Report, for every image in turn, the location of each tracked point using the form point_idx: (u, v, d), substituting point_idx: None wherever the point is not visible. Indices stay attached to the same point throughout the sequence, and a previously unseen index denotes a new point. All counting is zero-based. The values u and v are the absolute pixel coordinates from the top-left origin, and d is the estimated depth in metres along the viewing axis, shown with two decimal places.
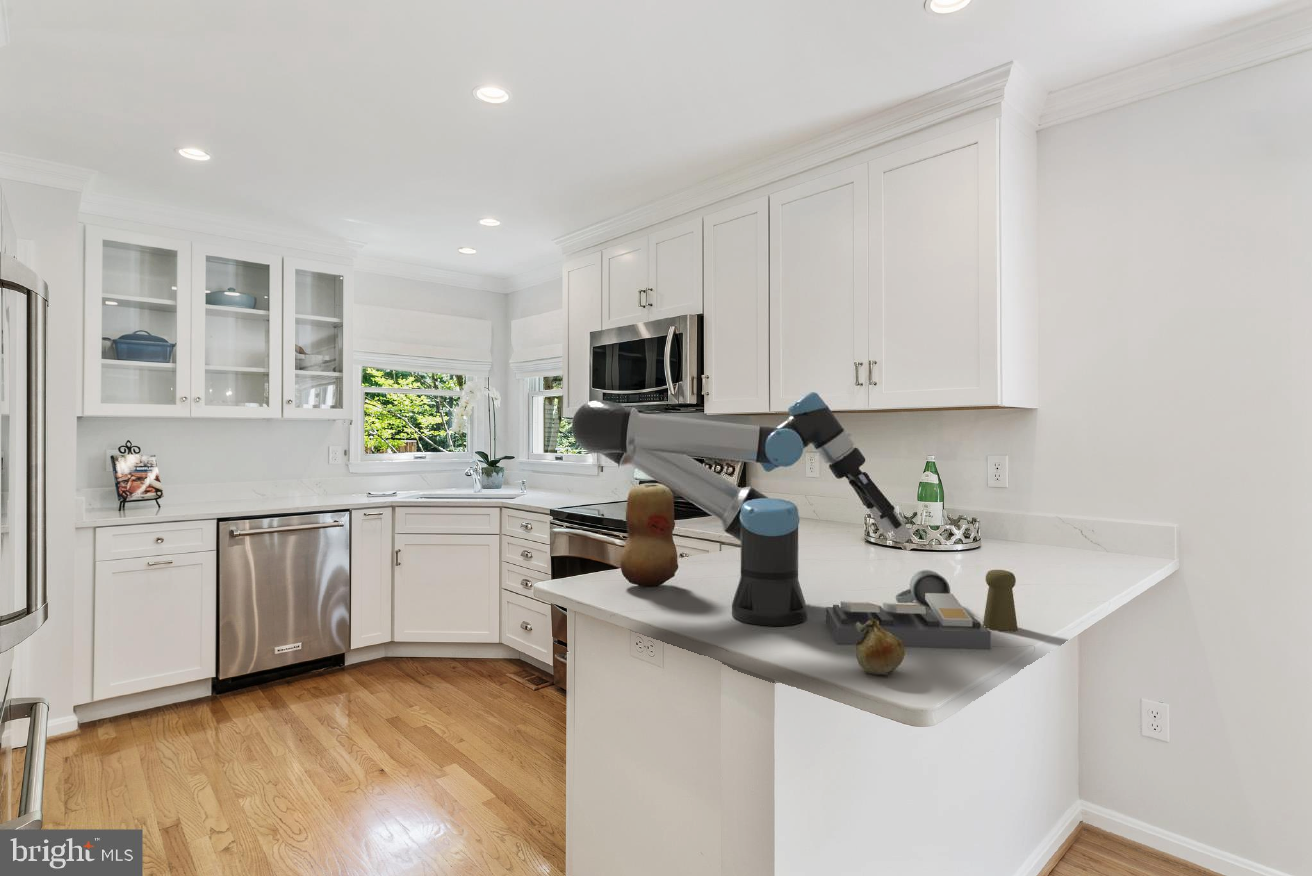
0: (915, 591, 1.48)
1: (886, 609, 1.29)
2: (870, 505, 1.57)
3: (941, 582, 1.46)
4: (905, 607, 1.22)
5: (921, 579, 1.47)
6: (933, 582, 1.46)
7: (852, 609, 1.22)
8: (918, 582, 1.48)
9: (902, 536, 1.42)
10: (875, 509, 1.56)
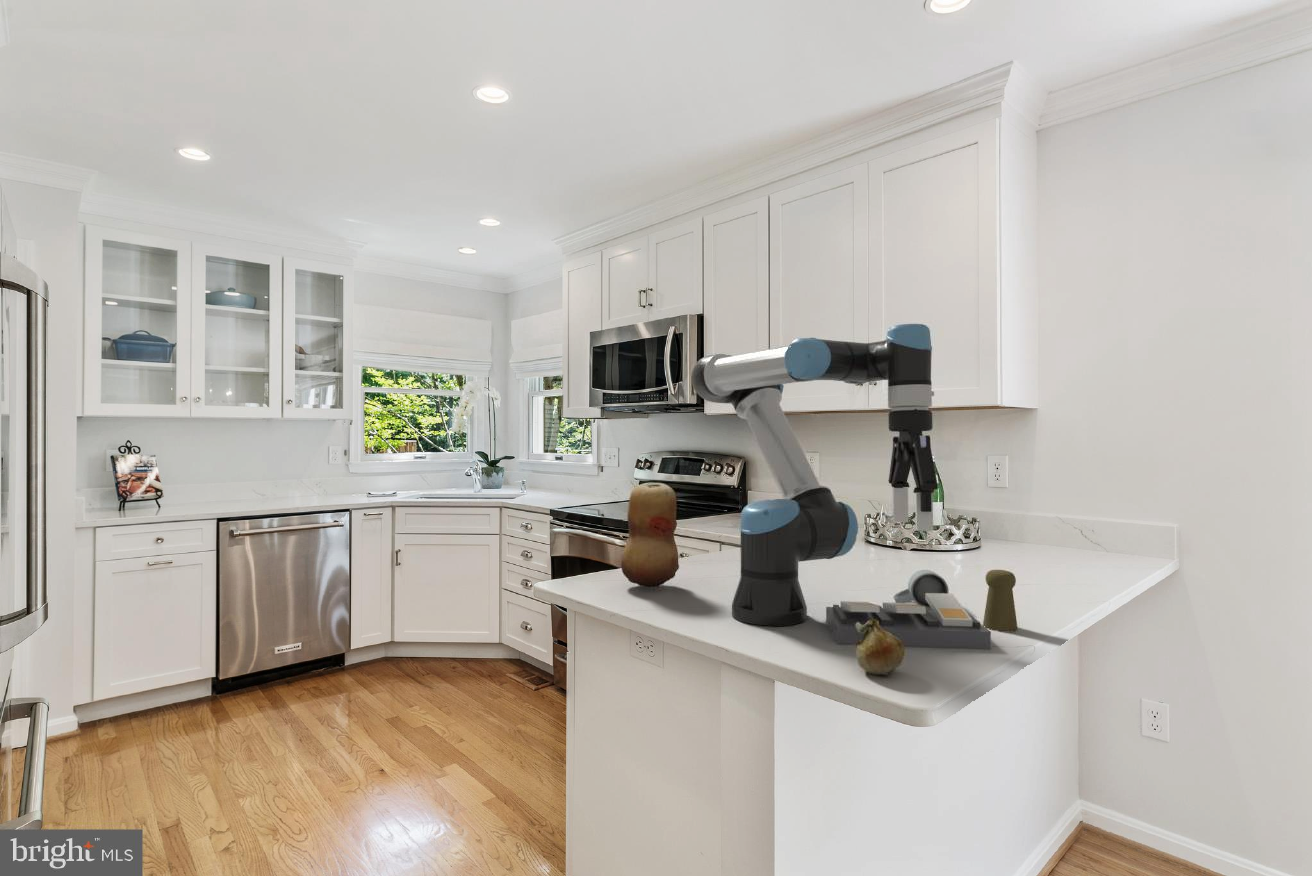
0: (913, 591, 1.48)
1: (886, 609, 1.29)
2: (897, 484, 1.32)
3: (939, 582, 1.47)
4: (905, 607, 1.22)
5: (919, 579, 1.47)
6: (931, 582, 1.46)
7: (852, 609, 1.22)
8: (916, 582, 1.48)
9: (922, 524, 1.17)
10: (900, 491, 1.31)
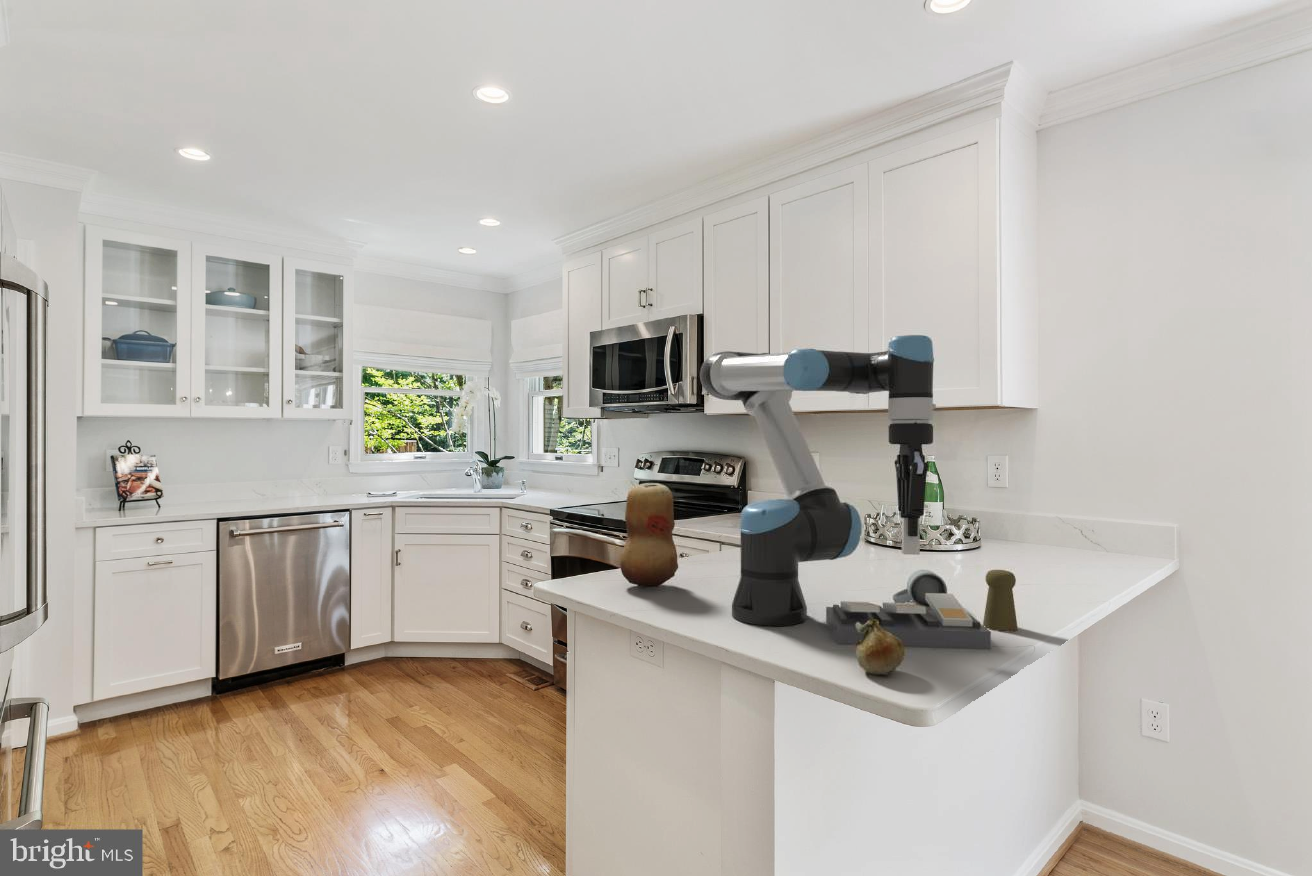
0: (912, 591, 1.48)
1: (886, 609, 1.29)
2: None
3: (938, 582, 1.47)
4: (905, 607, 1.22)
5: (918, 579, 1.47)
6: (930, 582, 1.46)
7: (852, 609, 1.22)
8: (915, 582, 1.48)
9: (909, 548, 1.22)
10: None
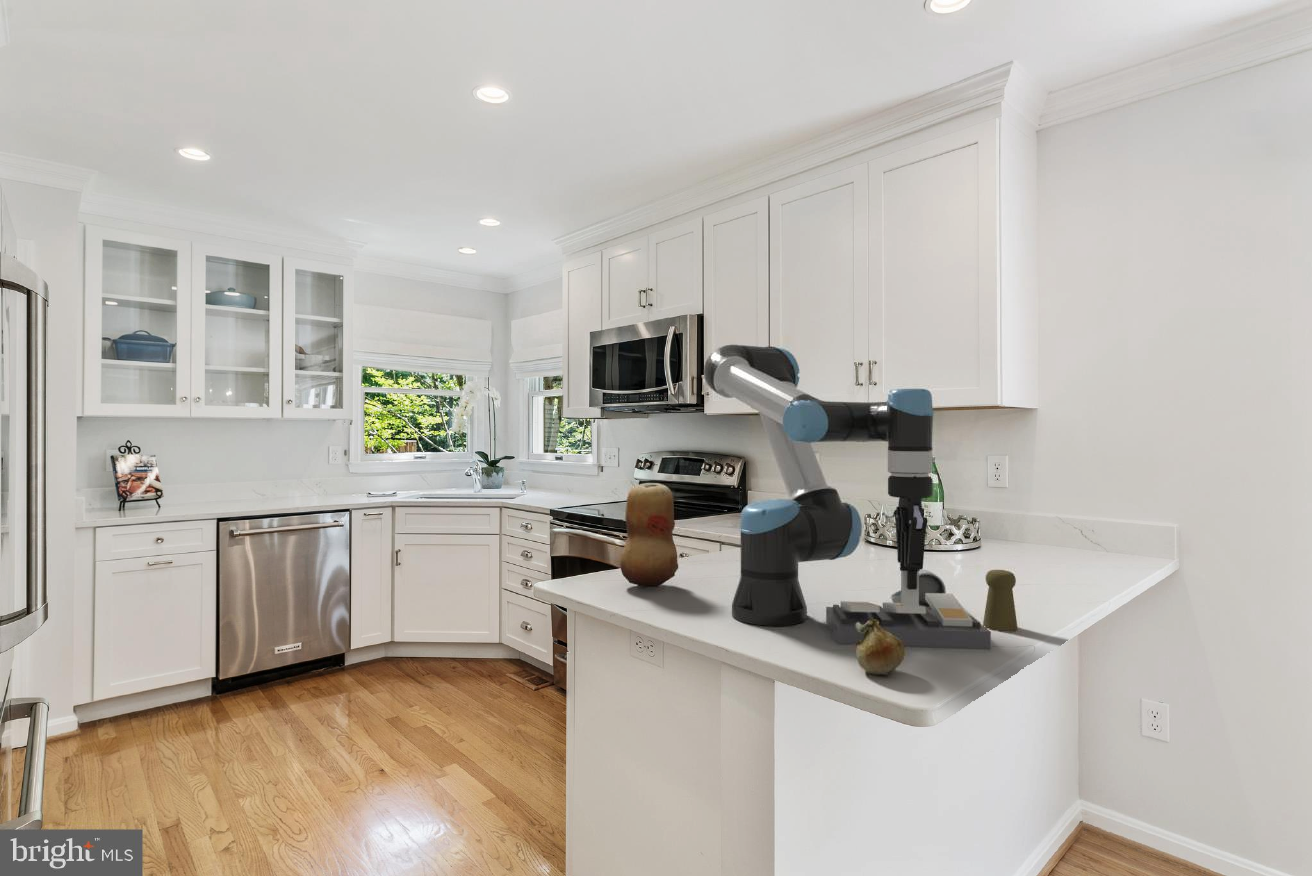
0: None
1: (886, 609, 1.29)
2: None
3: (936, 582, 1.47)
4: (905, 607, 1.22)
5: None
6: (928, 582, 1.47)
7: (852, 609, 1.22)
8: None
9: (908, 600, 1.22)
10: None
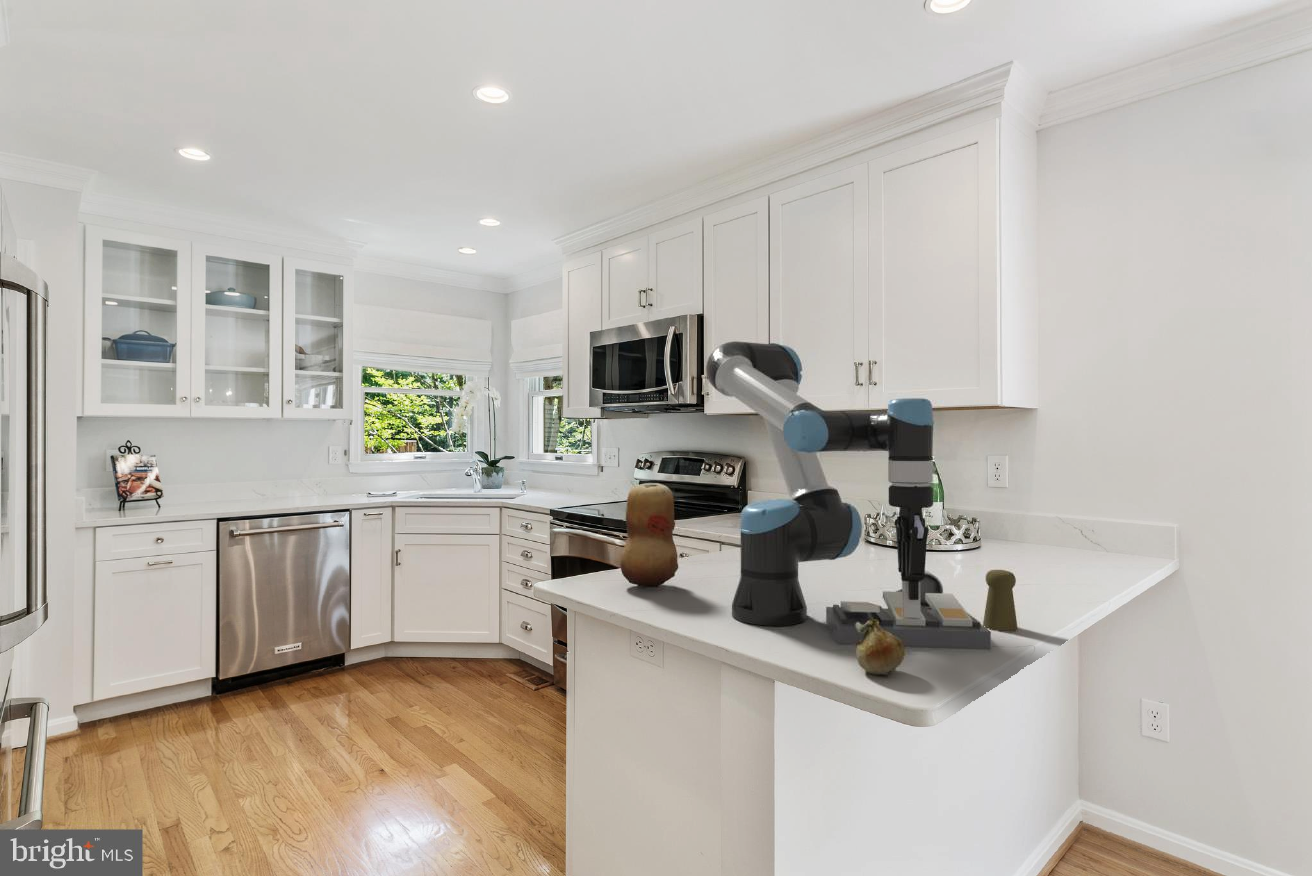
0: None
1: (886, 604, 1.30)
2: None
3: (934, 582, 1.47)
4: (905, 620, 1.22)
5: None
6: (926, 582, 1.47)
7: (852, 609, 1.22)
8: None
9: (910, 611, 1.21)
10: None
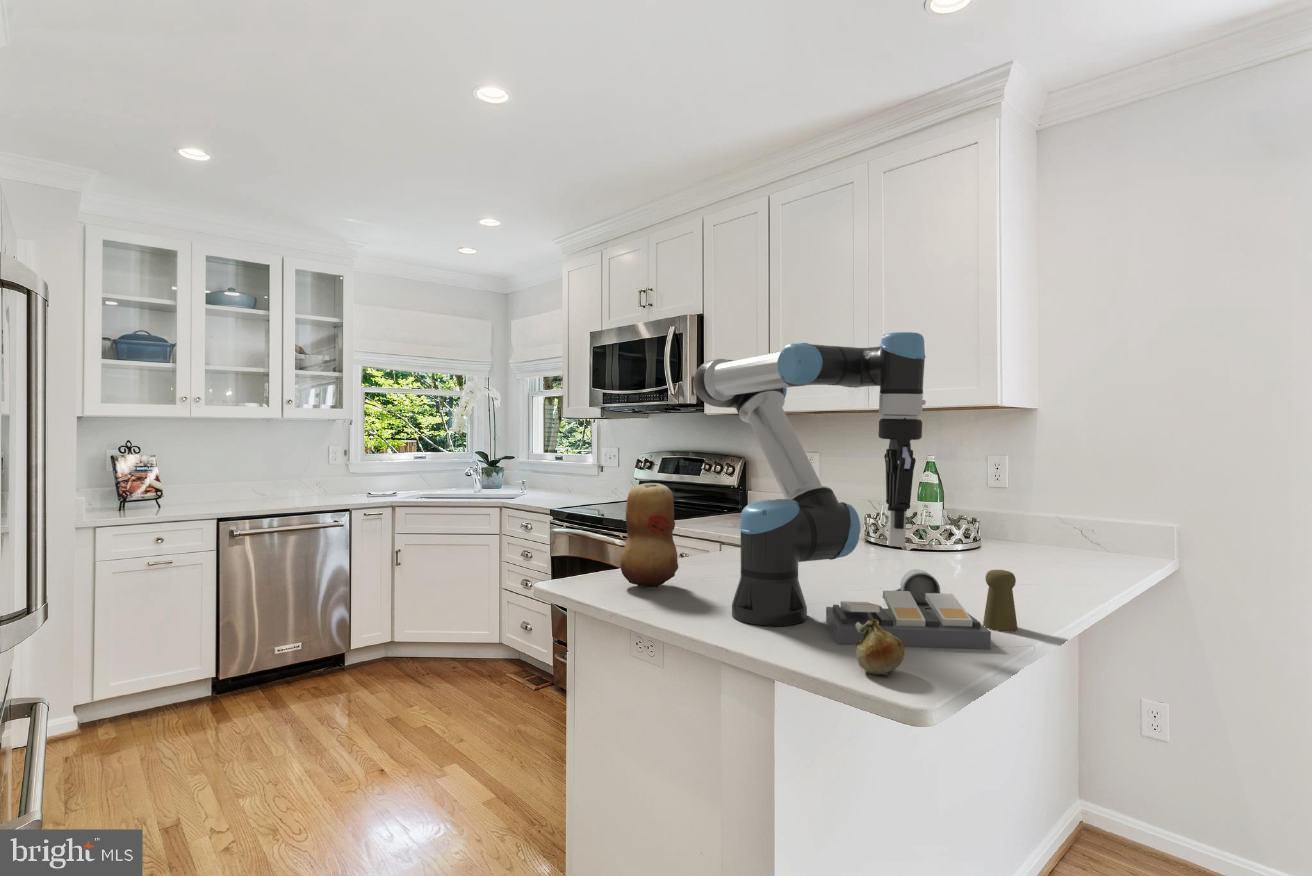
0: None
1: (886, 603, 1.30)
2: None
3: (931, 582, 1.47)
4: (905, 621, 1.22)
5: (911, 579, 1.48)
6: (923, 582, 1.47)
7: (852, 609, 1.22)
8: (908, 582, 1.48)
9: (895, 539, 1.25)
10: None
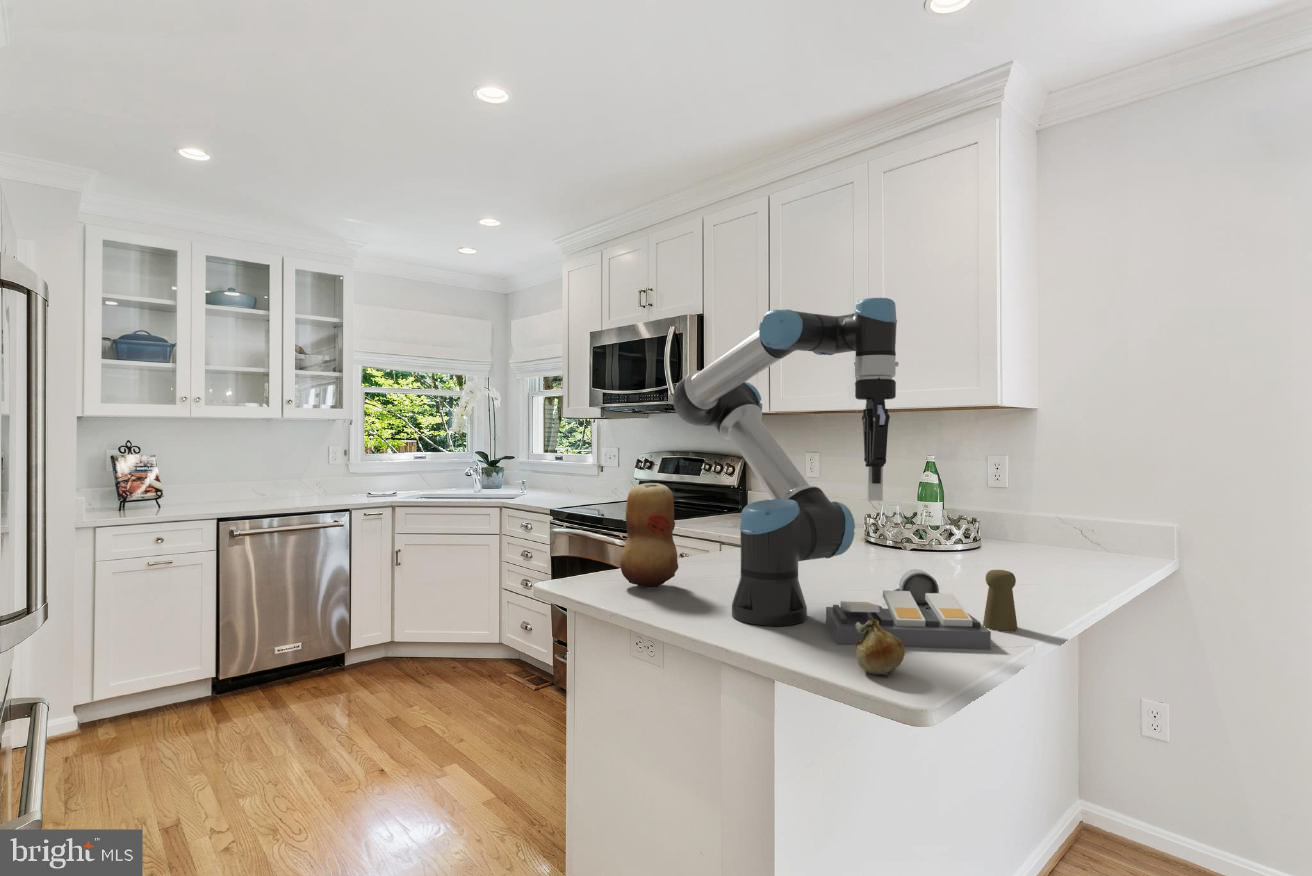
0: (904, 590, 1.49)
1: (886, 603, 1.30)
2: None
3: (930, 581, 1.47)
4: (905, 621, 1.22)
5: (910, 578, 1.48)
6: (922, 582, 1.47)
7: (852, 609, 1.22)
8: (907, 581, 1.48)
9: (873, 494, 1.32)
10: None
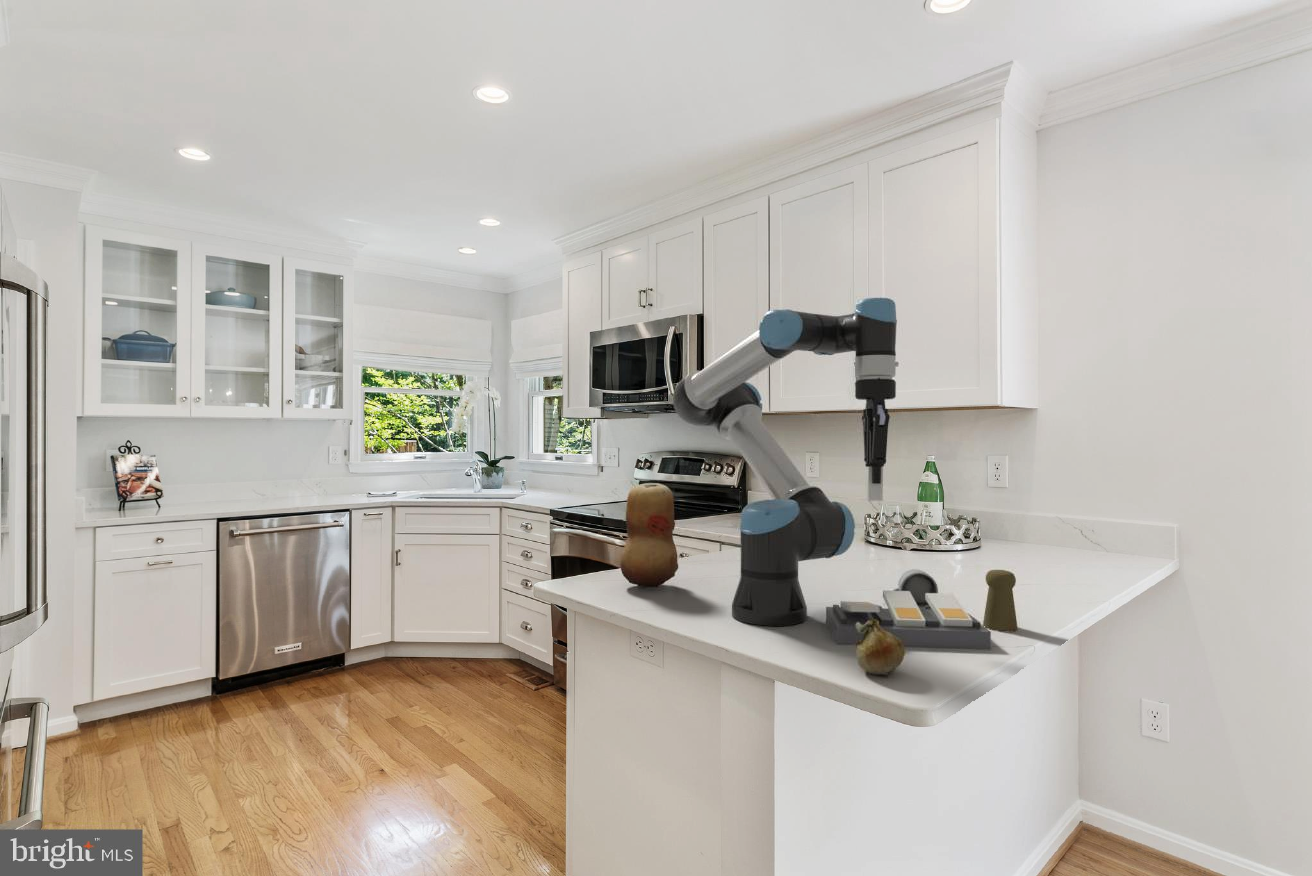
0: (903, 590, 1.49)
1: (886, 603, 1.30)
2: None
3: (929, 581, 1.47)
4: (905, 621, 1.22)
5: (909, 578, 1.48)
6: (921, 582, 1.47)
7: (852, 609, 1.22)
8: (906, 581, 1.48)
9: (873, 494, 1.32)
10: None
